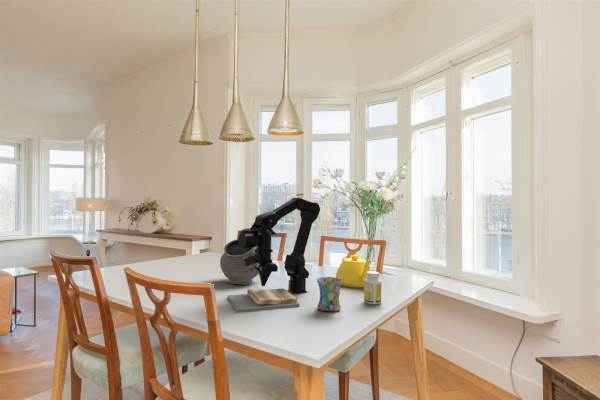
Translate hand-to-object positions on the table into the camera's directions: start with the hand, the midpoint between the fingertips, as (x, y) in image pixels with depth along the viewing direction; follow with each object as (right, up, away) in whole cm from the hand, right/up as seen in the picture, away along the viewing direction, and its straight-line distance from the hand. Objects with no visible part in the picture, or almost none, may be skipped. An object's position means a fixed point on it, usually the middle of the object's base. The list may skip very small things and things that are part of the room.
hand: (263, 285), depth 137 cm
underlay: (0, -5, -5) cm, 7 cm away
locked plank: (+8, -5, -2) cm, 10 cm away
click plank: (+1, -3, -5) cm, 6 cm away
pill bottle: (+43, -6, -3) cm, 43 cm away
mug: (+26, -6, -14) cm, 29 cm away
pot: (-13, -5, +27) cm, 31 cm away
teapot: (+41, -6, +27) cm, 49 cm away
